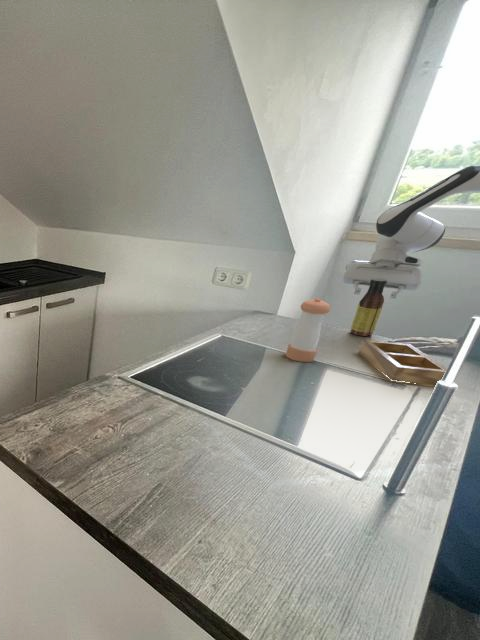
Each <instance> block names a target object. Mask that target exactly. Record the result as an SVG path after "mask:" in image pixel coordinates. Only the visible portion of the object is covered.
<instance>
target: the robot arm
mask: <svg viewBox="0 0 480 640" xmlns="http://www.w3.org/2000/svg"><path fill="white" fill-rule="evenodd" d="M467 193H468V194H469V193H470V194H473V193H474V194H480V164H477V165H469V166H467V167H464V168H462V169H460V170H458V171H456V172H454V173H452V174H451V175H449V176H447V177H445V178H443V179H441V180H440V181H438V182H436V183H435V184H433V185H431V186H430V187H427V188H426V189H424V190H422V191H421V192H419V193H418V194H416V195H414V196H412V197H411V198H409V199H407V200H405V201H403V202H401V203H399V204H396V205H394V206H392V207H390V208H388V209H387V210H384V212H382V213H381V215H380V216H378V218H377V219H376V223H375V226H376V227H375V228H376V232H377V234H379V236H378V239H377V241H376V243H375V250H374V251H373V253H372V255H371V257H370V260H369V261H367V260H353V261H349V262H347V264H346V265H345V272H344V274H343V276H342V279H341V280H342V283H343V284H347V285H352V287H353V289H354V295H361V291H362V287H359V286H368V287H369V286H370V281H371V279H373V278H378V279H386V280H387V283H386V284H385V286H384V289H385V288H386V289H394V290H395V291H391V293H390V296H389V299H394V300H396V299H397V296H398V295H399V294H401V293H402V292H403V291H416V290H418V289H419V288H420V286H421V284H422V281H423V274H424V270H423V268H422V264H423V260H422V259H421V258H417V257H414V256H410V255H407V254H412V253H413V254H414V253H418V252H421V251H424V250H428V249H431V248H433V247H435V246H436V245H437V244H439V242H440V241H441V240H442V239H443V237H444V235H445V232H446V225H445V224H443V223H441V222H440V221H438V220H436V219H434V218H432V217H429V216H427V215H425V214H424V213H422V212H423V211H425V210H426V209H428V208H429V207H431V206H433V205H435V204H437V203H439V202H441V201H443V200H444V199H446V198H448V197H451V196H453V195H457V194H467Z"/></svg>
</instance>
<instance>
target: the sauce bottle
mask: <svg viewBox="0 0 480 640" xmlns="http://www.w3.org/2000/svg"><path fill="white" fill-rule="evenodd" d="M386 283H387V280H386V279H378V278H373V279H371V281H370V286H368V289H367V291H366V293H365V294H364V296H363V297H362V298H361V299H360V300H359V302H358V305H357V308H356V311H355V315H354V318H353V320H352V324H351V327H350V333H351V334H353V335H356V336H360V337H369V336H368V335H371V336H373V334H374V332H375V330H376V327H377V324H378V321H379V318H380V315H381V312H382V309H383V307H384V302H385V297H384V294H383V292H384V289H385V288H384V286H385V284H386Z"/></svg>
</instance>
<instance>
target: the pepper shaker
mask: <svg viewBox="0 0 480 640" xmlns="http://www.w3.org/2000/svg"><path fill="white" fill-rule="evenodd" d="M300 311H302V312H301V315H300V318H299V321H298V324H297V325H296V328H295V330H294V332H293V333H292V337H291V340H290V343H289V344H288V346H287V349H286V352H285V357H287V358H288V359H290V360H292V361H297V362H300V363H301V362H302V363H312V362H314V360H315V358H316V356H317V355H316V354H317V351H318V348H317V347H318V344H319V342H320V337H321V328H322V325H323V321H324V319H325V315H326V314H328V313H329V312H330V311H331V305H330V303H328V302H326V301H323V300H322V299H321V298H319V297H316V298H314V299H308V300H305V301H302V303H301V305H300Z"/></svg>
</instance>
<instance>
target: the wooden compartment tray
mask: <svg viewBox="0 0 480 640" xmlns="http://www.w3.org/2000/svg"><path fill="white" fill-rule="evenodd" d="M358 355H360V356H361V357H362V358H363V359H364V360H366V362H368V363H369V364H370V365H371V366H372V367H374V368H375V369H376V370H377V371H378V372H379V373H380V374H381V375H383V376H384V377H385V378H386V379H387V381H389V382H390V383H397V384H403V385H405V384H406V385H413V386H423V387H431V388H436V387H435V385H436V383H437V381H439V380H441V379H442V377H443V375H444V373H445V371H446V370H447V368H448V367H446V366H444V365H443V364H441V363H440V362H439V361H437V360H435V359H434V358H432V357H431V356H429V355H428V354H427V353H425V352H423V351H421V350H420V349H419V348H417V347H415V346H414V345H412V344H411V343H404V342H392V341H380V340H379V341H378V340H371V339H370V340H369V339H363V340H362V343H361V346H360V347H359V351H358ZM378 369H379V370H378ZM382 372H383V373H384V374H385V375H387V376H388V377H389V378H390V379H392V380H397V381H405V382H410V383H405V382H396V381H391V380H390V379H389V378H388V377H386V376H385V375H384V374H383V373H382ZM414 383H416V384H414Z"/></svg>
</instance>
